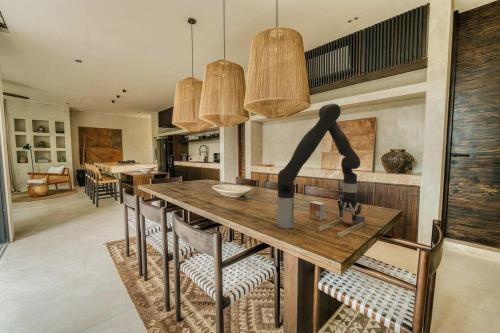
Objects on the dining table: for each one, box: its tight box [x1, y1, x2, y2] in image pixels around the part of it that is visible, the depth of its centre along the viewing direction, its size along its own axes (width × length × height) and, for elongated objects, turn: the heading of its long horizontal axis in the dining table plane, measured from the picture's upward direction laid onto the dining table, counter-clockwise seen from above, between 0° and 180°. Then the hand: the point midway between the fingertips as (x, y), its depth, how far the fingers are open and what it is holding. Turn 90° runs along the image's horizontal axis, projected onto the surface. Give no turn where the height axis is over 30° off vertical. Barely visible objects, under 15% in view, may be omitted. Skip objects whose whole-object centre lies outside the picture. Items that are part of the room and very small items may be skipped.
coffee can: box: [337, 194, 351, 219], centre depth 138 cm, size 10×10×14 cm
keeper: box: [343, 210, 355, 224], centre depth 123 cm, size 5×5×6 cm
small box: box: [308, 200, 326, 221], centre depth 136 cm, size 8×6×10 cm
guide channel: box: [317, 214, 366, 239], centre depth 119 cm, size 12×30×5 cm, turn 129°
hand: (349, 219), depth 124 cm, fingers closed on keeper, 5 cm apart
